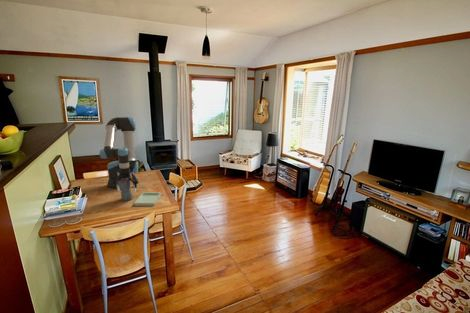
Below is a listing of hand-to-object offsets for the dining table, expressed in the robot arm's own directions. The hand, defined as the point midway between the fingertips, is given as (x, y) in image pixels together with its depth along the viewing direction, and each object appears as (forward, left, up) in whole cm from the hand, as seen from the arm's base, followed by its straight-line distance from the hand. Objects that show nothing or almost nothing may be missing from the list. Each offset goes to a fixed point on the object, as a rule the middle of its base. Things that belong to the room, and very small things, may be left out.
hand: (126, 191), depth 201 cm
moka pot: (0, 0, -7) cm, 7 cm away
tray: (+2, +18, -7) cm, 19 cm away
